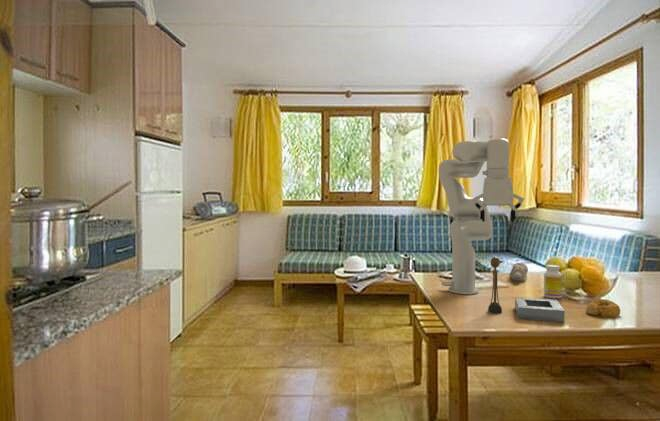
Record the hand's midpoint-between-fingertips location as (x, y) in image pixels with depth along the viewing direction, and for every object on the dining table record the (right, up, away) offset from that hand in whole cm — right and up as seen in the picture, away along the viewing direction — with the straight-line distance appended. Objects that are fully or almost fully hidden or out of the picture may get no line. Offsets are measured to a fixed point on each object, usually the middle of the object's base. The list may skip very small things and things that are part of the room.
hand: (497, 221), depth 160 cm
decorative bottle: (+32, -30, +59) cm, 74 cm away
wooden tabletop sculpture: (0, -33, +1) cm, 33 cm away
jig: (+13, -33, -3) cm, 35 cm away
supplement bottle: (+31, -32, +22) cm, 50 cm away
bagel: (+36, -33, -3) cm, 49 cm away
